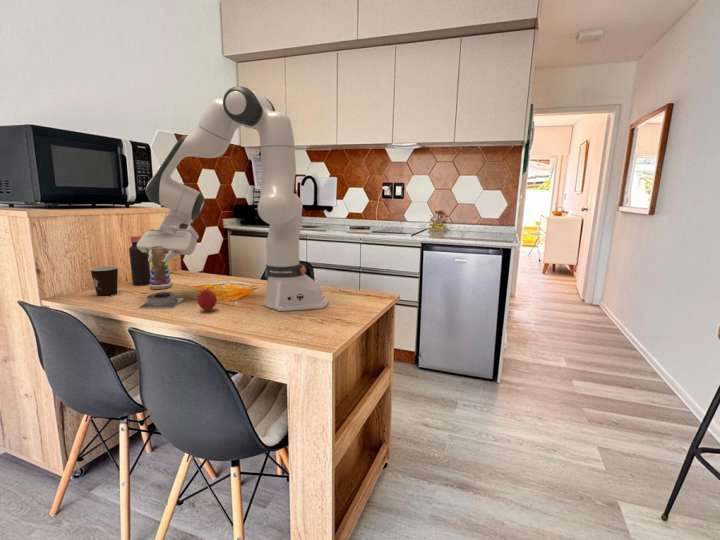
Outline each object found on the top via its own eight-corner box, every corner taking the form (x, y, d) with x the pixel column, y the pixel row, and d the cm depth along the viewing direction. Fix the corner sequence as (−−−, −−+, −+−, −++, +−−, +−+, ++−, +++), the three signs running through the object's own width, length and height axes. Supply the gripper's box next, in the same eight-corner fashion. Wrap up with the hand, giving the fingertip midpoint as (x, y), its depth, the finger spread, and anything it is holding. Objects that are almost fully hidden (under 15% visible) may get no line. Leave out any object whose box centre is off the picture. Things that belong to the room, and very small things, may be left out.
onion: (215, 313, 128) (213, 289, 126) (196, 314, 127) (194, 290, 125) (218, 308, 133) (217, 285, 132) (200, 308, 132) (199, 285, 131)
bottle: (153, 282, 168) (149, 235, 164) (147, 285, 162) (142, 237, 157) (136, 282, 167) (131, 235, 163) (129, 286, 161) (124, 237, 157)
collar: (184, 299, 143) (184, 291, 143) (173, 308, 133) (172, 299, 132) (153, 299, 143) (152, 291, 142) (139, 308, 132) (138, 300, 131)
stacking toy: (163, 290, 155) (158, 243, 151) (145, 289, 156) (140, 242, 152) (176, 285, 162) (172, 240, 158) (159, 284, 164) (154, 239, 160)
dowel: (168, 280, 138) (165, 246, 135) (163, 282, 134) (160, 247, 132) (157, 280, 138) (154, 246, 135) (152, 282, 134) (149, 247, 132)
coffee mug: (121, 295, 147) (118, 269, 145) (93, 298, 142) (90, 271, 140) (119, 288, 156) (116, 264, 154) (93, 291, 152) (89, 266, 150)
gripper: (143, 223, 141) (124, 255, 133) (195, 225, 137) (179, 258, 130) (152, 234, 146) (135, 265, 138) (203, 237, 142) (188, 269, 135)
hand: (157, 262), depth 134 cm, fingers closed on dowel, 4 cm apart
